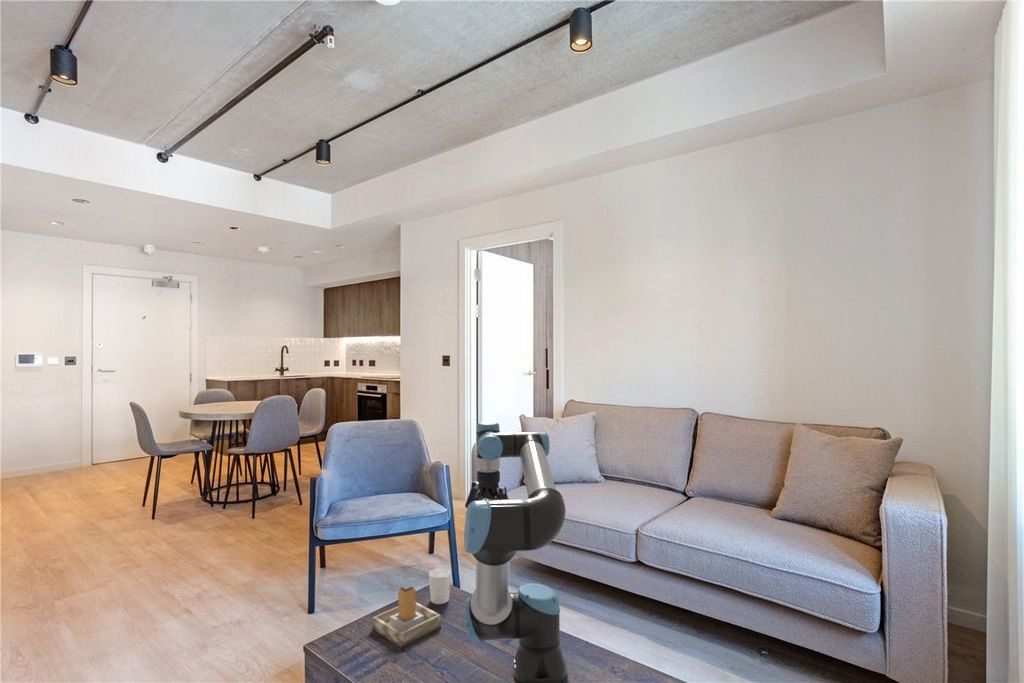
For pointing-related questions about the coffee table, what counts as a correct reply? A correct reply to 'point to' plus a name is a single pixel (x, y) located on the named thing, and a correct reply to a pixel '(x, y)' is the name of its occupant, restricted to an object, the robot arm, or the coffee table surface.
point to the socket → (406, 625)
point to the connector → (406, 602)
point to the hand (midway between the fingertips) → (489, 535)
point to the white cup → (439, 585)
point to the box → (403, 638)
